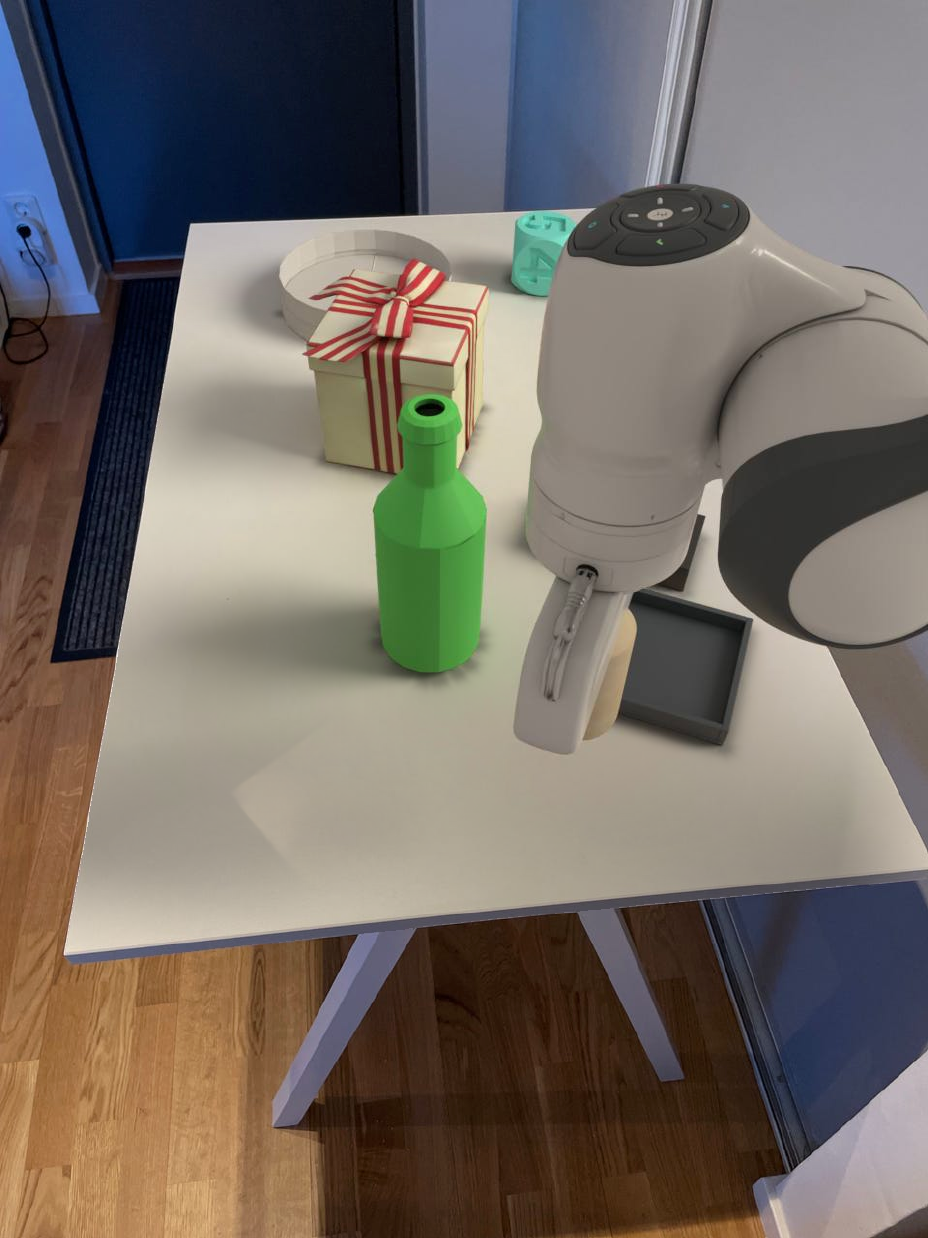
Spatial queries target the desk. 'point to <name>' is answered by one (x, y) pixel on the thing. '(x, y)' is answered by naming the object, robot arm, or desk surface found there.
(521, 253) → the decorative dice
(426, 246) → the dish
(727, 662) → the soap tray
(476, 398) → the gift box
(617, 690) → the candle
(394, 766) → the desk surface
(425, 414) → the bottle
